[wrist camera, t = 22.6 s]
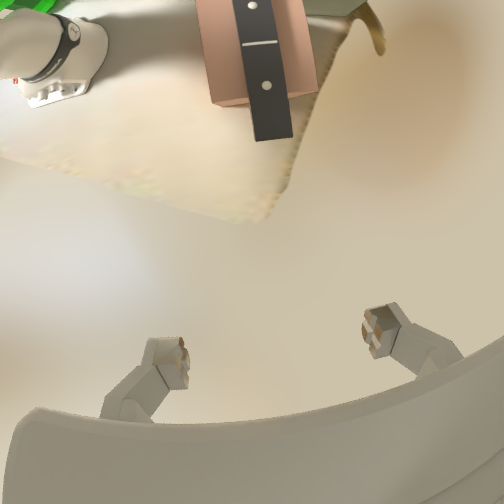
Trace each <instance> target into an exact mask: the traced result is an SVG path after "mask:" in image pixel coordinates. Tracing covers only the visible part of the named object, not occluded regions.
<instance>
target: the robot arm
mask: <svg viewBox="0 0 504 504" xmlns="http://www.w3.org/2000/svg"><path fill="white" fill-rule="evenodd" d="M107 49H108V36H107V33H106V31H105V30H104V28H103V27H102V26H100V25H98V24H96V23H89V22H85V21H84V20H82V19H81V18H74V19H71V18H66V17H63V16H61V15H59V14H46V13H43V12H39V11H36V10H33V9H29V8H20V9H17V10H15V11H13V12H11V13H10V14H9V15H7V16H6V17H5V18H3V19H0V80H1V79H10V78H13V83H14V84H15V81H16V84H17V83H18V85H19V90H20V92H21V94H22V96H23V97H24V98H27V101H28V103H29V104H30V106H31V107H32V108H38V107H41V106H44V105H47V104H50V103H53V102H57V101H60V100H64V99H67V98H71V97H75V96H79V95H82V94H84V93H85V92H86V90H87V88H88V86H89V83H90V80H91V79H92V77H93V76H94V74H95V73H96V72H97V71H98V69H99V68H100V66H101V65H102V63H103V61H104V59H105V56H106V53H107ZM76 89H77V91H76ZM364 317H365V319H366V320H365V321H364V322H363V323H362V335H363V338H364V341H365V342H366V343H368V344H369V345H370V347H369V350H370V352H371V354H372V356H373V358H374V359H377V358H382V357H386V356H389V355H390V356H391V357H392V358H393V359H395V360H396V361H398V362H399V363H401V364H402V365H403V366H405V367H406V368H408V369H409V370H411V371H412V372H413V373H415V374H416V375H417V377H416V379H415V380H414V381H412V382H409V383H406V384H404V385H401V386H398V387H396V388H393V389H390V390H387V391H384V392H381V393H378V394H374V395H371V396H368V397H365V398H361V399H358V400H354V401H350V402H347V403H343V404H339V405H335V406H331V407H327V408H323V409H318V410H313V411H308V412H303V413H297V414H292V415H286V416H280V417H273V418H265V419H258V420H249V421H238V422H227V423H226V422H225V423H206V424H157V423H154V422H153V421H152V420H151V419H150V417H151V416H152V415H153V413H154V412H155V411H156V409H157V408H158V407H159V405H160V404H161V402H162V401H163V400H164V398H165V397H166V396H167V394H168V393H169V392H170V390H182V389H188V381H189V377H188V374H187V372H188V370H189V369H190V359H189V354H188V351H187V349H185V348H184V341H183V339H182V337H165V338H149V339H148V340H147V344H146V347H145V351H144V355H143V358H142V362H141V366H137V367H136V368H135V369H134V370H133V371H132V372H131V373H130V374H128V375H127V376H126V378H124V379H123V380H122V381H121V382H120V383H119V384H118V385H117V386H116V387H115V388H114V389H113V390H112V391H111V392H110V393H109V394H107V395H106V396H105V399H104V403H103V406H102V410H101V414H100V418H94V417H87V416H81V415H76V414H70V413H66V412H61V411H56V410H52V409H48V408H43V407H36V408H35V409H33V410H32V411H30V412H29V413H28V414H27V415H26V416H25V417H23V418H22V419H21V420H20V421H19V422H18V423H17V425H16V427H15V430H14V433H13V436H12V440H11V444H10V447H9V452H8V457H7V462H6V468H5V475H4V485H3V502H2V503H3V504H504V336H502V337H501V338H499V339H497V340H496V341H494V342H493V343H491V344H489V345H487V346H486V347H484V348H482V349H480V350H478V351H477V352H475V353H473V354H471V355H469V356H468V357H465V358H464V357H463V356H462V354H461V353H460V351H459V350H458V348H457V347H456V346H455V344H454V343H453V342H452V341H451V340H449V339H447V338H444V337H442V336H440V335H438V334H436V333H434V332H432V331H430V330H428V329H426V328H423V327H421V326H419V325H417V324H415V323H414V324H412V323H411V322H410V321H409V320H408V318H407V317H406V315H405V314H404V312H403V311H402V310H401V308H400V307H399V306H398V305H397V303H395V302H393V303H389V304H385V305H382V306H377V307H373V308H369V309H366V311H365V314H364Z"/></svg>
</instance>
